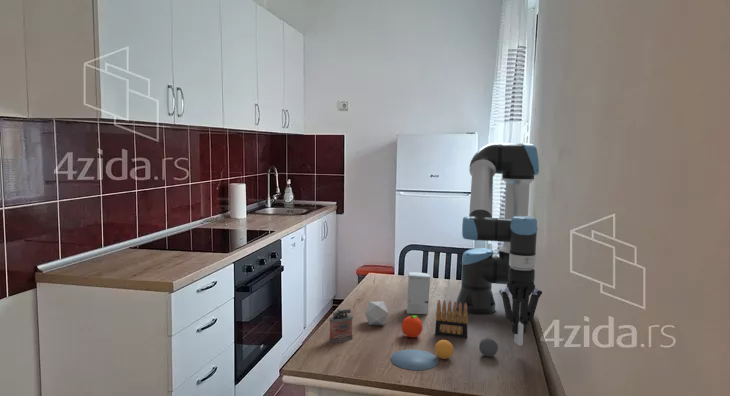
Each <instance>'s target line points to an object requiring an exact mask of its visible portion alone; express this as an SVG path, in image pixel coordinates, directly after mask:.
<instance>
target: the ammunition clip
mask: <svg viewBox="0 0 730 396" xmlns="http://www.w3.org/2000/svg"><path fill="white" fill-rule="evenodd" d="M447 304H448V305H447ZM447 304H446V300H445V299H444V300H443V301H442V305H441V300H440V299H438V301H437V304H436V305H437V306H436V313H435V326H434V327H435V330H434V335H435V336H442V337H449V338H458V339H468V322H469V321H468V320H469V318H468V317H469V314H468V312H467V303H466V302H465V305H464V311H462V304H461V302H460V303H459V307H458V308H457V305H456V301H454V302H453V306H452V302H451V300H449V301H448V303H447ZM457 309H458V310H457Z"/></svg>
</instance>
